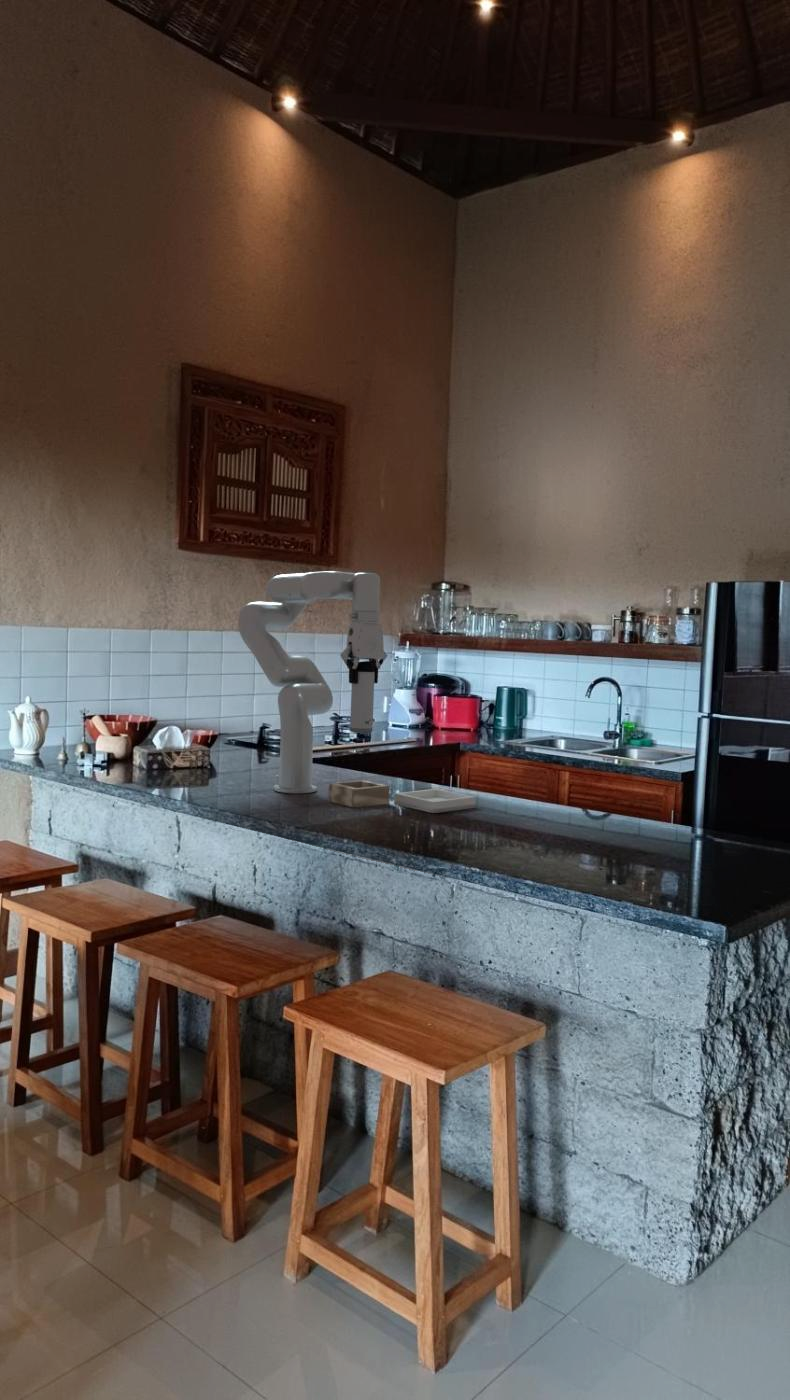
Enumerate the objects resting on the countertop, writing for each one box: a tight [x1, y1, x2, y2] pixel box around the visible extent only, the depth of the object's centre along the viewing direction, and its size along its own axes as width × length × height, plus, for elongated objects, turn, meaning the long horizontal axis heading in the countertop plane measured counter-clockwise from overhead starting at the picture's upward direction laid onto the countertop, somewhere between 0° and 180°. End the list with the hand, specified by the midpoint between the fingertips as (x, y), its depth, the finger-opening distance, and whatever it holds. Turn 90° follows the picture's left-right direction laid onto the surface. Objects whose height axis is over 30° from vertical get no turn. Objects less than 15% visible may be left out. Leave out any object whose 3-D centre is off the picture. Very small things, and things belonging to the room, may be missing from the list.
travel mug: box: [349, 660, 376, 734], centre depth 282 cm, size 6×7×20 cm
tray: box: [393, 788, 477, 814], centre depth 282 cm, size 16×16×3 cm
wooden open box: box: [328, 779, 390, 808], centre depth 284 cm, size 12×12×5 cm
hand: (363, 682), depth 281 cm, fingers closed on travel mug, 6 cm apart
